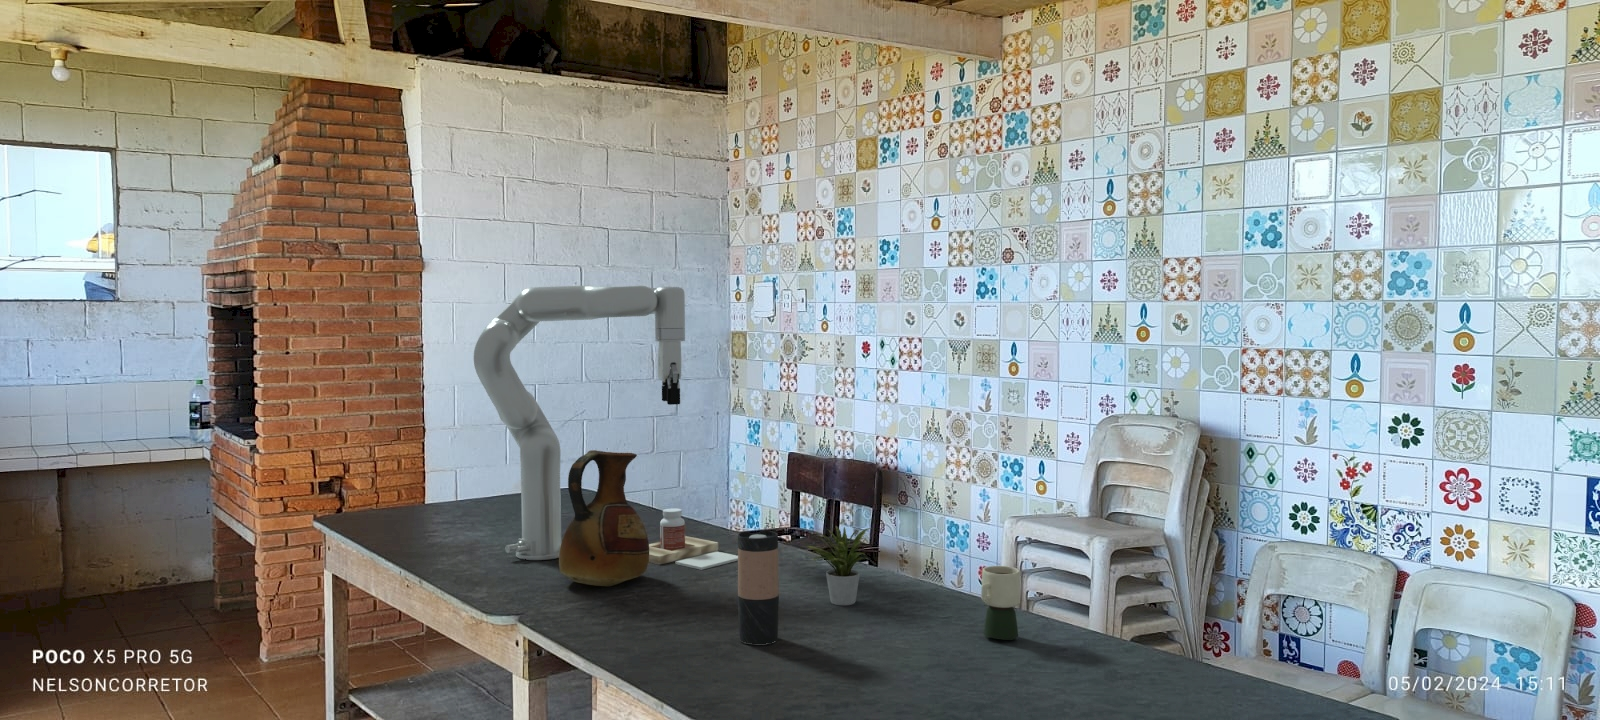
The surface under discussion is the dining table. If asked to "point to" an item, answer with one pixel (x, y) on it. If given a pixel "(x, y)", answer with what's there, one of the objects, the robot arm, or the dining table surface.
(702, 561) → the mat
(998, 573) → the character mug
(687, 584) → the dining table surface
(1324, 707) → the dining table surface
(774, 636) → the travel mug
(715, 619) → the dining table surface
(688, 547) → the wooden rectangular frame
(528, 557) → the robot arm
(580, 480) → the ceramic pitcher
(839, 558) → the house plant
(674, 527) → the pill bottle
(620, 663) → the dining table surface
